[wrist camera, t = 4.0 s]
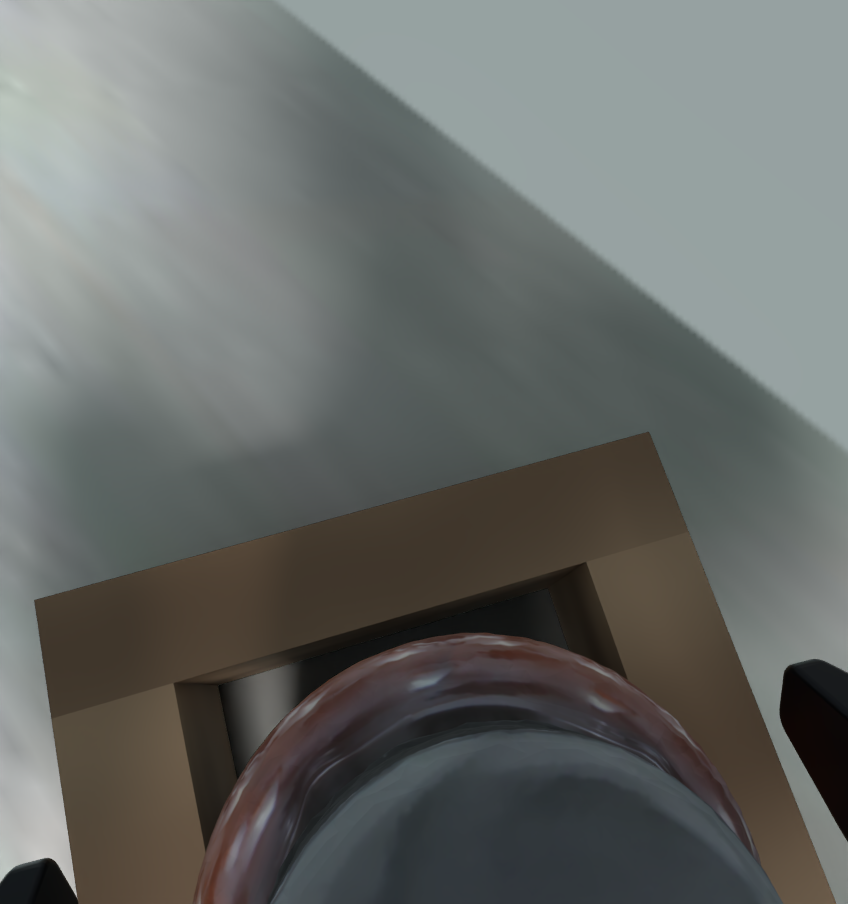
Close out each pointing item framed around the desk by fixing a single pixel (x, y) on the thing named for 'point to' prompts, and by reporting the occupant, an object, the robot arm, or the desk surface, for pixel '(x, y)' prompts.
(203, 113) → the desk surface
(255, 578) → the walnut pocket block
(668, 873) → the supplement bottle
